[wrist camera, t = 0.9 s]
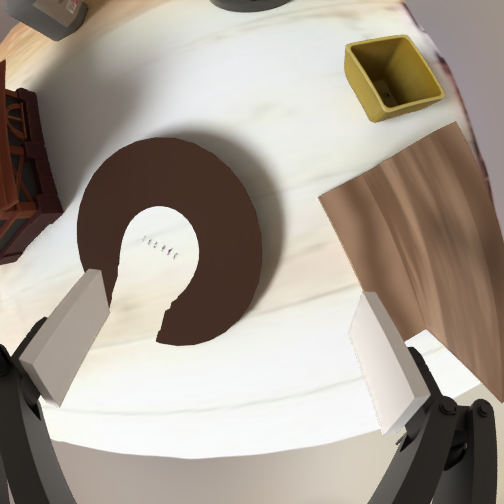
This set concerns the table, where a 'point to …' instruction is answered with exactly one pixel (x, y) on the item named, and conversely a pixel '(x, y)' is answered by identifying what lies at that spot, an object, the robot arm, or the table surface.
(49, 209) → the house
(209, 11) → the table surface
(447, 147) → the cleat board
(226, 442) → the table surface
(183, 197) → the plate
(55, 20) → the liquor
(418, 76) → the flower pot
